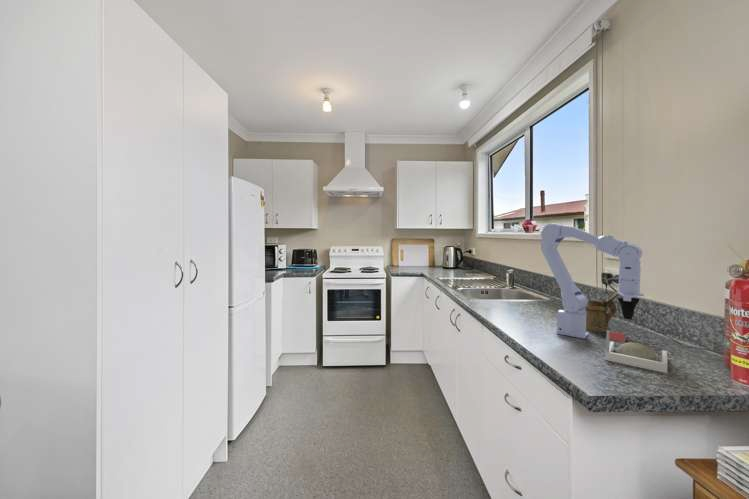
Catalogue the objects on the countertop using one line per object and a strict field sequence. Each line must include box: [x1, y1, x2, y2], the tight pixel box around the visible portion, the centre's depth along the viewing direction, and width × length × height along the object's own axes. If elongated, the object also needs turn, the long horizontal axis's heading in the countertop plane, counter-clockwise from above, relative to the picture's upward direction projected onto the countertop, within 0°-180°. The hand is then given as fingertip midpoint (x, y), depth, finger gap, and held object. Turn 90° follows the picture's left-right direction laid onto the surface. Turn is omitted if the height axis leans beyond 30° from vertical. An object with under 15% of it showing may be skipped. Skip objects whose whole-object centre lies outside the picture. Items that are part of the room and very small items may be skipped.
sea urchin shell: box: [617, 341, 657, 361], centre depth 98 cm, size 9×8×8 cm
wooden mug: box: [585, 290, 620, 333], centre depth 128 cm, size 9×14×18 cm, turn 52°
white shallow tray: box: [604, 330, 668, 374], centre depth 97 cm, size 14×14×9 cm
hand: (627, 318), depth 110 cm, fingers closed
